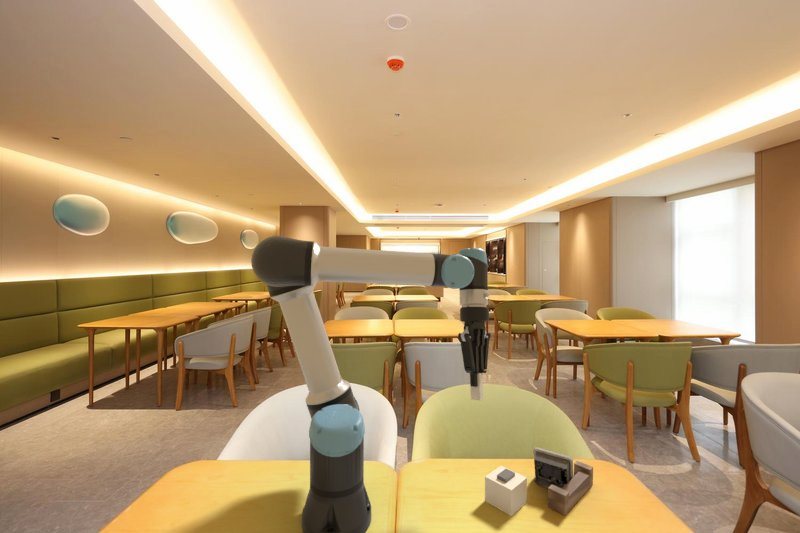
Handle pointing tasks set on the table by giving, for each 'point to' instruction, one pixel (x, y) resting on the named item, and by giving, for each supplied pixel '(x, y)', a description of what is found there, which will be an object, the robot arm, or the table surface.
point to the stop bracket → (571, 489)
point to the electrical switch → (552, 468)
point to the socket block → (506, 490)
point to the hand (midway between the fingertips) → (476, 399)
